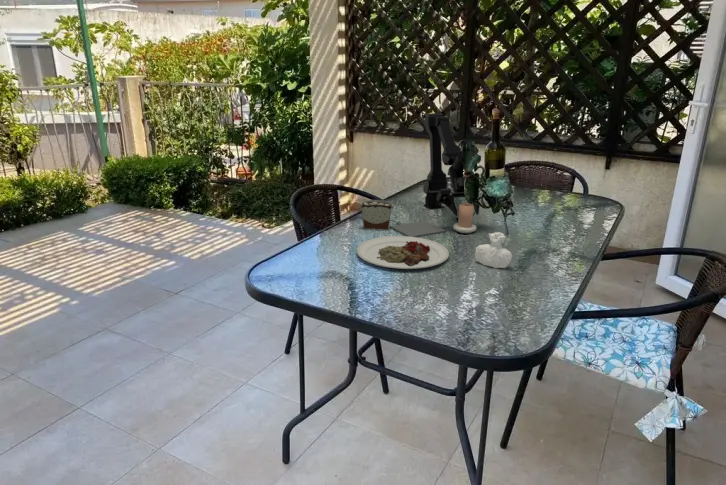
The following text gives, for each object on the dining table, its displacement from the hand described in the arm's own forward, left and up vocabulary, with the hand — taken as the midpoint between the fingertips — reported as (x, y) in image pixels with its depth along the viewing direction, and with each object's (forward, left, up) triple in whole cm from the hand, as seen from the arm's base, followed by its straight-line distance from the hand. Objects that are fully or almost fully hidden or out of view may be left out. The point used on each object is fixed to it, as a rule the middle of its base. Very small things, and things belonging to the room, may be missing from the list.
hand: (467, 214), depth 195 cm
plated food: (+35, +10, -7) cm, 37 cm away
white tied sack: (+14, +30, -7) cm, 33 cm away
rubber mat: (+15, -10, -7) cm, 19 cm away
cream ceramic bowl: (0, -1, -7) cm, 7 cm away
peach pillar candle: (0, -1, -5) cm, 5 cm away
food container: (+27, -20, -7) cm, 34 cm away
